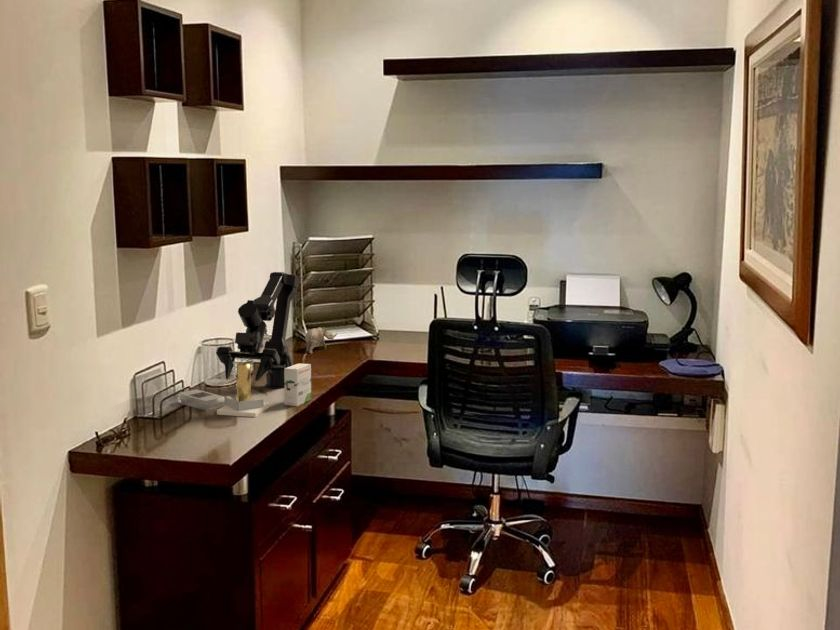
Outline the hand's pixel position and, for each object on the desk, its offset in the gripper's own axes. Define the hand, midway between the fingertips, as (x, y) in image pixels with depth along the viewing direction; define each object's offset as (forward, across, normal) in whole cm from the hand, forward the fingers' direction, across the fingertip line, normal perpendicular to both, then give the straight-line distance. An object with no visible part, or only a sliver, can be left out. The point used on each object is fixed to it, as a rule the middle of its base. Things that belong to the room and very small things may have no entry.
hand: (241, 379), depth 250 cm
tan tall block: (+5, 0, +7) cm, 9 cm away
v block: (+6, 0, +8) cm, 10 cm away
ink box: (-3, +13, +17) cm, 21 cm away
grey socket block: (+4, -15, +10) cm, 19 cm away
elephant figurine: (-60, -4, +75) cm, 96 cm away
